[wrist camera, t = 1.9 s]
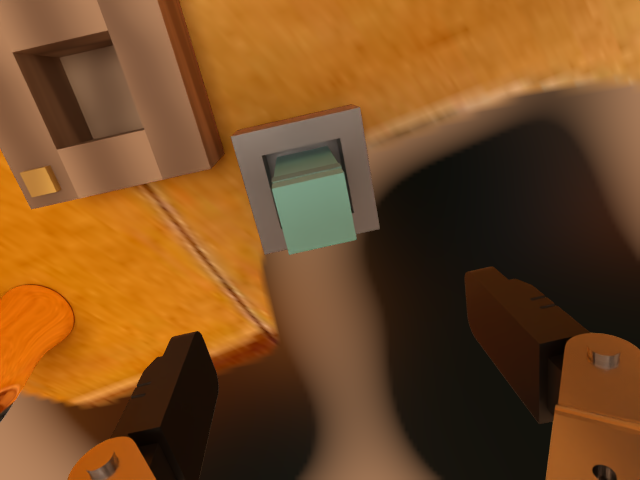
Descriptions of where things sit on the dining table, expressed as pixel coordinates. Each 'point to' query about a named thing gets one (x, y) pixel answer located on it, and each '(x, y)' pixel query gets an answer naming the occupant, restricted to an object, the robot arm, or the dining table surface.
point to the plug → (312, 200)
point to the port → (100, 97)
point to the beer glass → (28, 335)
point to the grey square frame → (296, 136)
